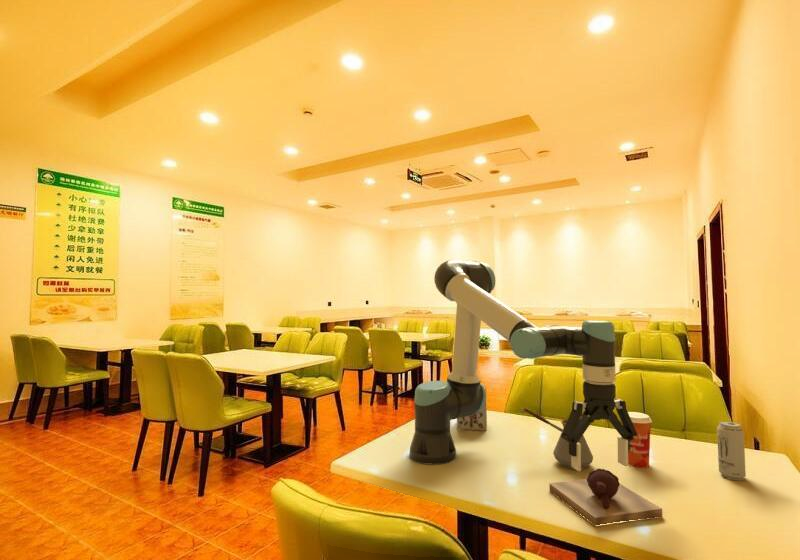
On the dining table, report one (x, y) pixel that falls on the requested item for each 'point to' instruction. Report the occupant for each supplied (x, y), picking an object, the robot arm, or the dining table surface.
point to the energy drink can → (731, 450)
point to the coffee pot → (567, 446)
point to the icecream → (603, 485)
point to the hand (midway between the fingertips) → (599, 466)
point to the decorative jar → (474, 420)
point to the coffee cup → (640, 440)
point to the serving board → (591, 507)
